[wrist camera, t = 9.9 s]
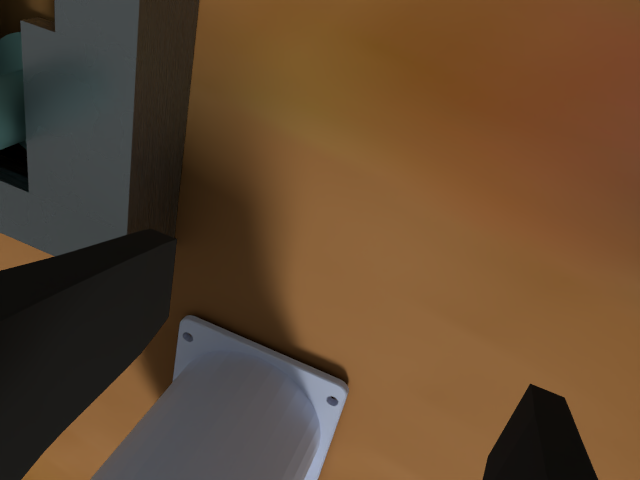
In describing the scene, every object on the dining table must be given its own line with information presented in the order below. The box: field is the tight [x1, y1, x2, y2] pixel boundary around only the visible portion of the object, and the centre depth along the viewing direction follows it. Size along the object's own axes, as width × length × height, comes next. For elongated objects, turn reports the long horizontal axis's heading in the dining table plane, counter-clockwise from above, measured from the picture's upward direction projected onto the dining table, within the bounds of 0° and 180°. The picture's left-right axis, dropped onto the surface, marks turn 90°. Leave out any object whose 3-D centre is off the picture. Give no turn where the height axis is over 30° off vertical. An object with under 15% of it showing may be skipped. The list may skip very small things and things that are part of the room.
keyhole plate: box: [0, 0, 199, 256], centre depth 20 cm, size 16×12×3 cm
